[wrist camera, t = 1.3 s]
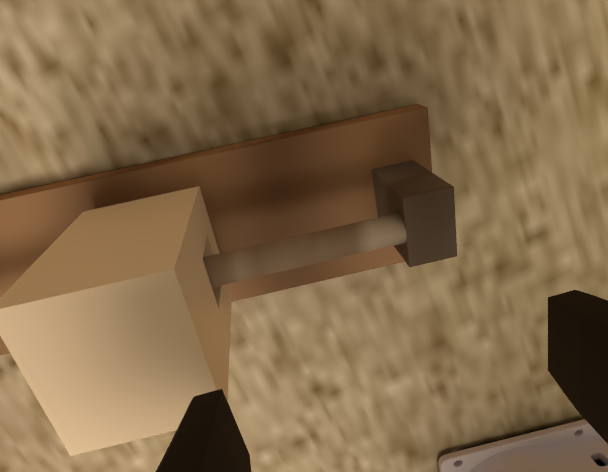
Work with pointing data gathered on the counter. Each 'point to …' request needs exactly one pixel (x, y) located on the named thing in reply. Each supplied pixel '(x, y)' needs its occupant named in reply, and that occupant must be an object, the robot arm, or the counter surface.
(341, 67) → the counter surface
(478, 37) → the counter surface
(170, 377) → the tan wooden block
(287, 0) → the counter surface
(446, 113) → the counter surface
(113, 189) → the rod base
